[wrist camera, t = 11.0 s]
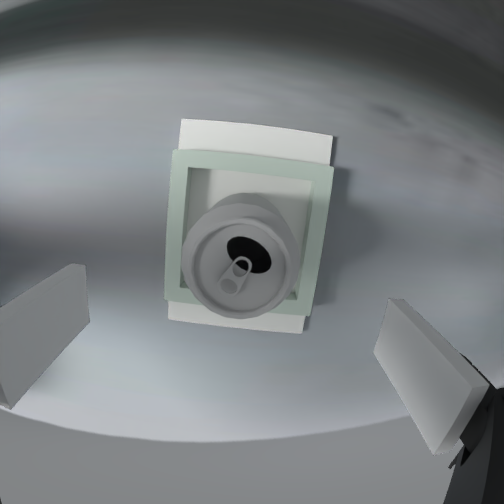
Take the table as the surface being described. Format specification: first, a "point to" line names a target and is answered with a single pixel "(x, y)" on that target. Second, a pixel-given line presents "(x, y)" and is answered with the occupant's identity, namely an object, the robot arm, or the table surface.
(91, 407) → the table surface
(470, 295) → the table surface
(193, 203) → the green and white tray
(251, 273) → the can
